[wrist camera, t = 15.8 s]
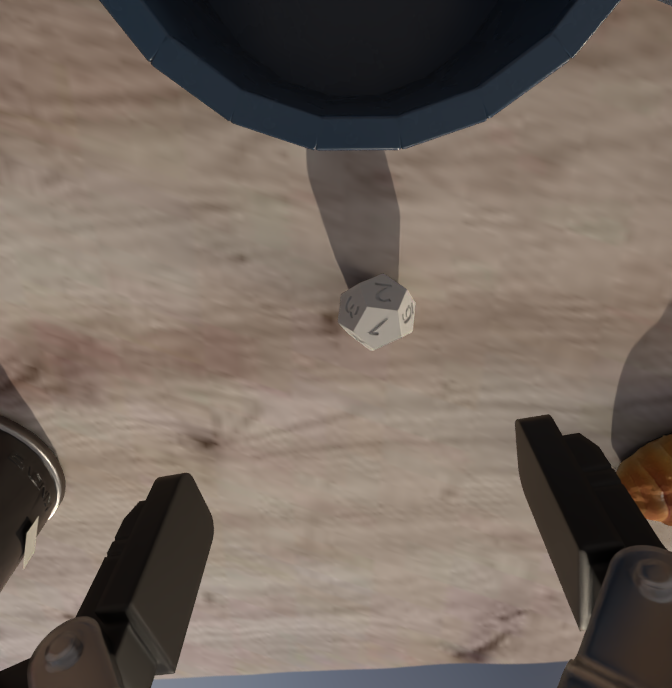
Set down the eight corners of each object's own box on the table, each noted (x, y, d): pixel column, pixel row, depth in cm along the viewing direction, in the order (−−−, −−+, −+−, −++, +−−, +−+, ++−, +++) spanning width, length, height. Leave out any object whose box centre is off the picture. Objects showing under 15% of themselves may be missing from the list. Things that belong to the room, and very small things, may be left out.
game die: (427, 297, 25) (437, 325, 22) (373, 345, 26) (376, 376, 23) (377, 249, 24) (381, 272, 21) (323, 301, 25) (320, 329, 22)
